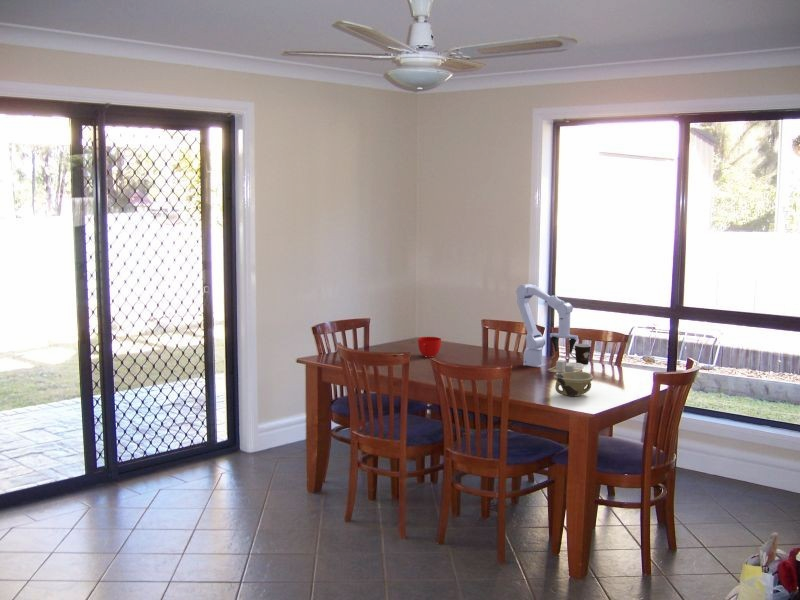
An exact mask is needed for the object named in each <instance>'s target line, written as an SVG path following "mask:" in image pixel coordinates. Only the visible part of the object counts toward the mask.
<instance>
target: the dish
mask: <svg viewBox="0 0 800 600" xmlns="http://www.w3.org/2000/svg"><path fill="white" fill-rule="evenodd" d="M566 365H574V368H576V369H582V370H583V369H584V368H585V367H584V366H585V364H581V363H576V362H566Z"/></svg>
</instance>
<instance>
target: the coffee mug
mask: <svg viewBox="0 0 800 600" xmlns="http://www.w3.org/2000/svg"><path fill="white" fill-rule="evenodd" d="M591 348H592V345H591V344H588V343H587V344H586V343H577V344H576V343H575V344H574V347H573V351H574V352H575V353H574V354H575V356H574V355H573V354H572V353H569V354H570V356H571V357H572V358H574V359H575V363H581V364H583V365H584V366H585V365H589V362H590V355H591Z"/></svg>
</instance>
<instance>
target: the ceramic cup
mask: <svg viewBox="0 0 800 600" xmlns="http://www.w3.org/2000/svg"><path fill="white" fill-rule="evenodd" d="M441 343H442V338H440V337H436V336H422V337H419V338H417V344H418V345H417V346H418V350H419V353H421V355H422V356H423V357H424V356H427V357H426V358H429V356H430V358H432V357H431V356H435V355H436V356H437V355H438V354H439V352H440V350H441ZM436 356H435V357H436Z"/></svg>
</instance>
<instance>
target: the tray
mask: <svg viewBox="0 0 800 600" xmlns="http://www.w3.org/2000/svg"><path fill="white" fill-rule="evenodd" d="M547 372H551V373H556V374H559V373H565V370H564V371H558V370H556V365H555V366H553V367H551V368H548V369H547ZM574 372H583V369H576V368H574Z"/></svg>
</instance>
